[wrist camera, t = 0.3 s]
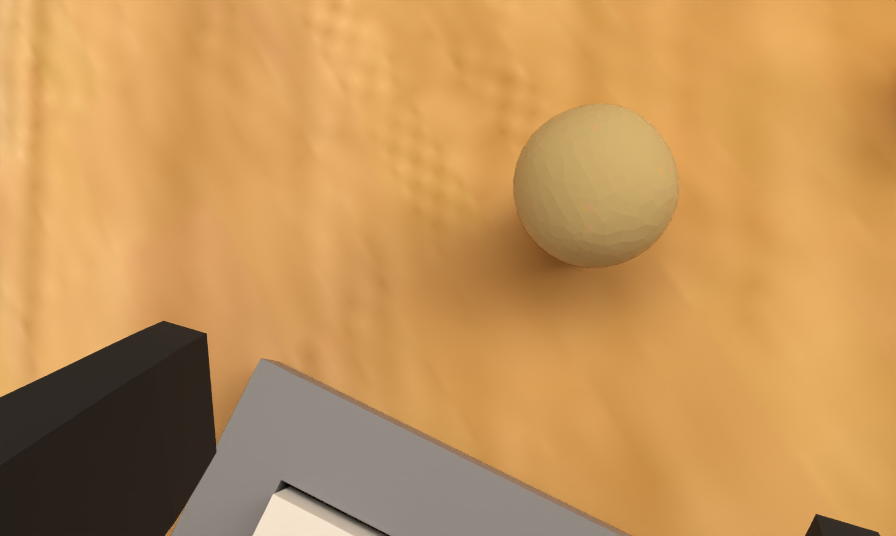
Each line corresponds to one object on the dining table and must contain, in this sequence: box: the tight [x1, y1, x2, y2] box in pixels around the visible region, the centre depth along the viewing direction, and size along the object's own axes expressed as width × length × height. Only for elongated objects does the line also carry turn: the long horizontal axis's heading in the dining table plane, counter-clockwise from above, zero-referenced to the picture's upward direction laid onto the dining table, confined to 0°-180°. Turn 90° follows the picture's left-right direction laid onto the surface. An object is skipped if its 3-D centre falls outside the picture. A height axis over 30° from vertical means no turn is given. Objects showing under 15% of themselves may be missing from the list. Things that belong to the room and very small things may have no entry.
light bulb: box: [513, 104, 679, 268], centre depth 34 cm, size 6×6×10 cm
